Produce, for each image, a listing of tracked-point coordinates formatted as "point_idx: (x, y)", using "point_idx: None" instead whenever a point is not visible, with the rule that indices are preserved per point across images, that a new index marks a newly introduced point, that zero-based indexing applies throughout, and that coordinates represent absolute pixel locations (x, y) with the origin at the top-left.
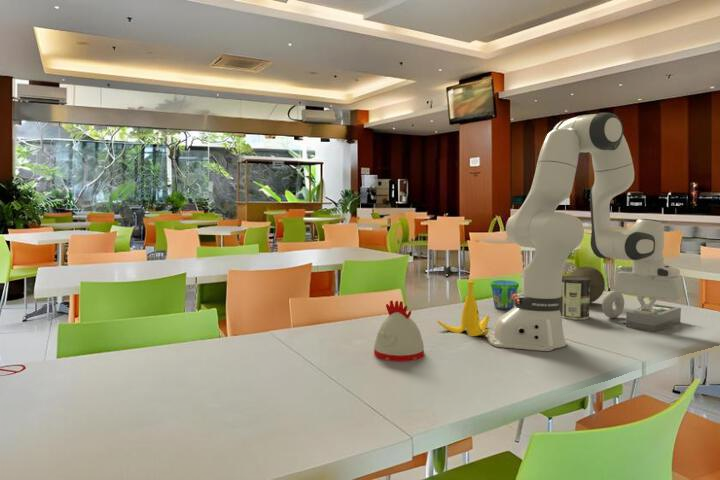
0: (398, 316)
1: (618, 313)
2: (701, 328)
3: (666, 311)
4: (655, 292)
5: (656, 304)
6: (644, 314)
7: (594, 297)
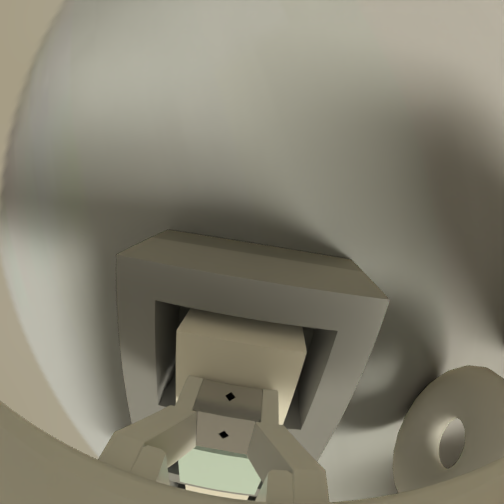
0: None
1: (410, 420)
2: (84, 408)
3: None
4: (14, 486)
5: None
6: (215, 285)
7: None
